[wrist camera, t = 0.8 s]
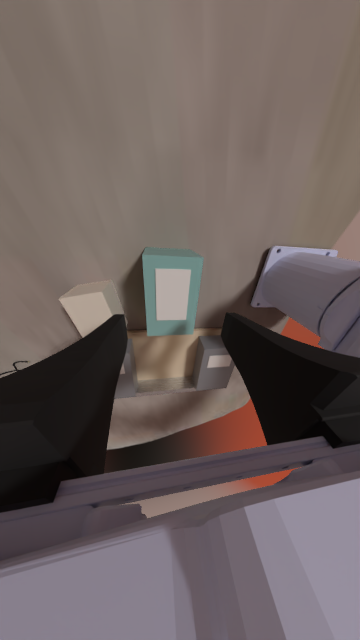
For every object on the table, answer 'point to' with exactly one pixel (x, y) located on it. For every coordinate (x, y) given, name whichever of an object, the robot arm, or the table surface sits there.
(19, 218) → the table surface
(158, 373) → the board
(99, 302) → the block
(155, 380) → the rail
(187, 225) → the table surface
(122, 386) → the mounted modules
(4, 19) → the table surface
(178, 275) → the teal module
